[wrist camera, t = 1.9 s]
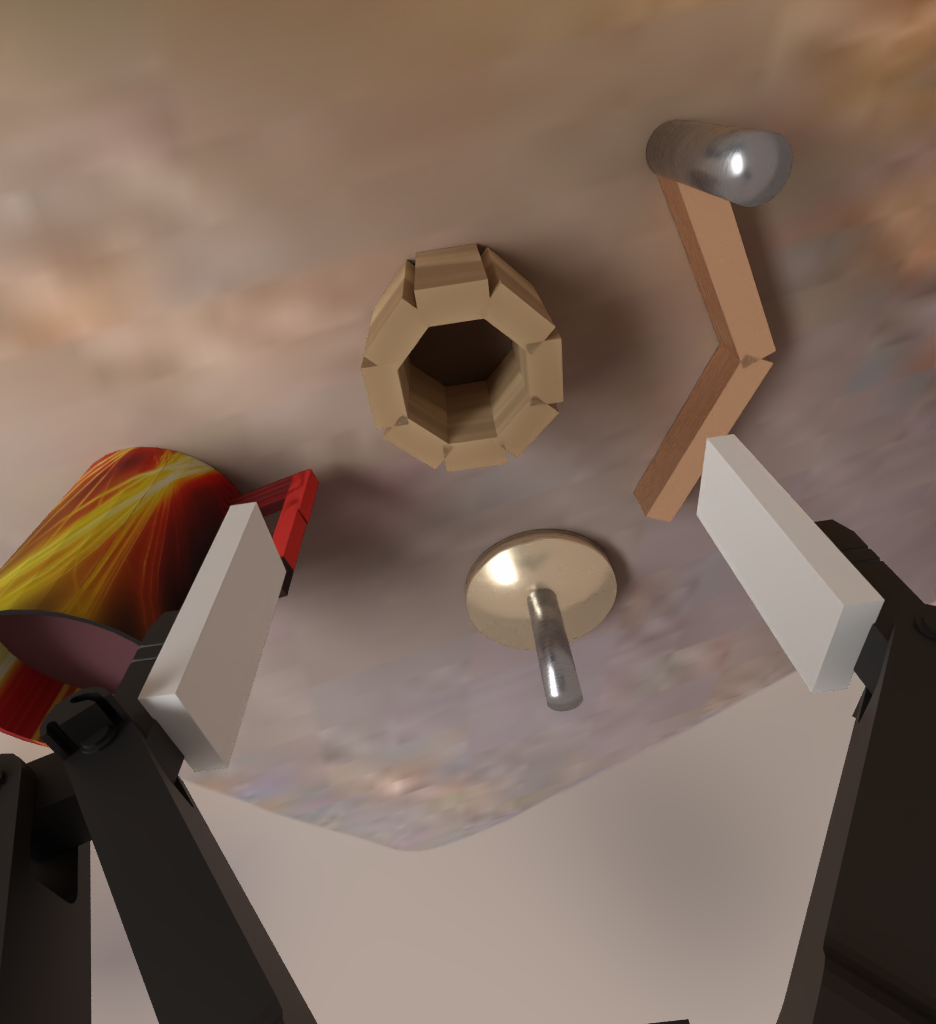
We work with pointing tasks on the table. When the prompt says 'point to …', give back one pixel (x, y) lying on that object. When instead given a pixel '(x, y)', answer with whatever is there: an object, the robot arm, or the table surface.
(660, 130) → the bent hammer
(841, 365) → the table surface
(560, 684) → the peg stand
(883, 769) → the robot arm
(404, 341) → the oak ring
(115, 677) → the mug
